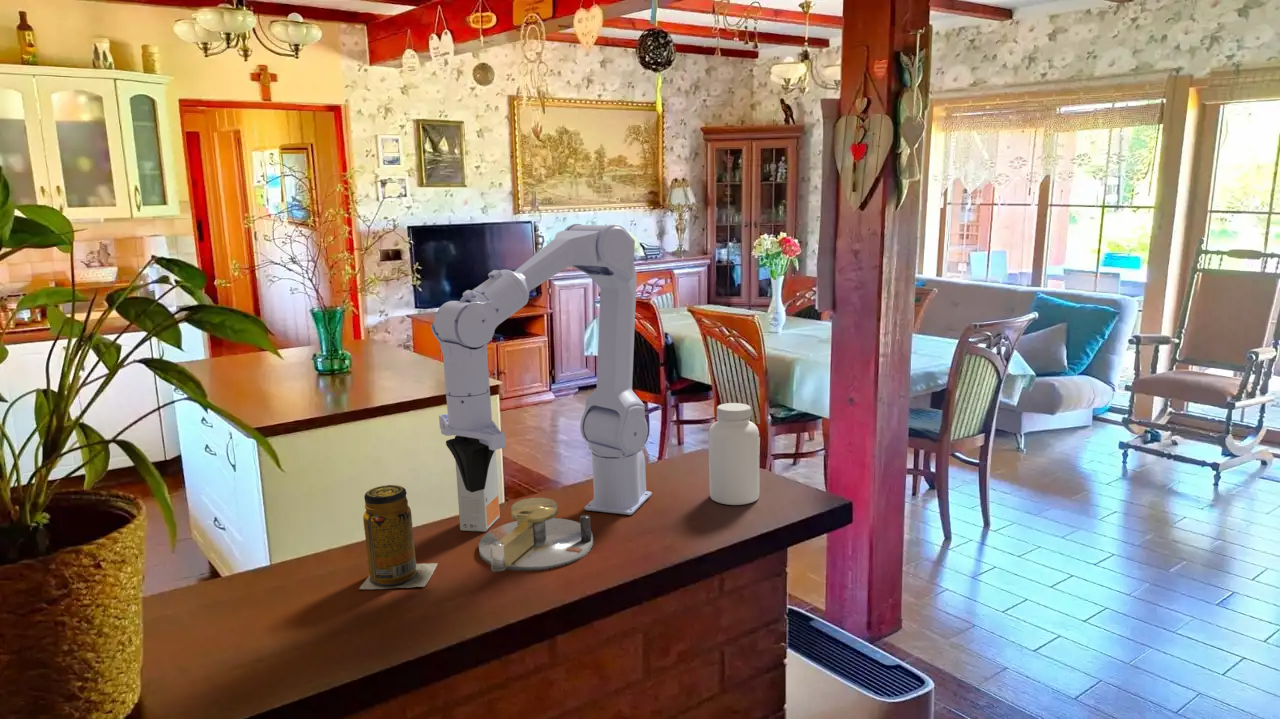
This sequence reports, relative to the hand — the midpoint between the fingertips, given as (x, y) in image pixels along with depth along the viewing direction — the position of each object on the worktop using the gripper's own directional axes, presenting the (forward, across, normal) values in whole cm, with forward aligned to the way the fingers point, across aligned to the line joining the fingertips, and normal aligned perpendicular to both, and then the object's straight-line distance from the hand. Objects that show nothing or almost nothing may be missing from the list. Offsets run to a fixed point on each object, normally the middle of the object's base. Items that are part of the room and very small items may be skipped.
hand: (475, 489), depth 118 cm
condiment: (+10, -2, -11) cm, 15 cm away
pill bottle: (+10, +8, +41) cm, 43 cm away
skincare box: (+10, -11, +6) cm, 16 cm away
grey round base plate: (+10, +2, +8) cm, 13 cm away
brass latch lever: (+9, +4, +4) cm, 10 cm away
